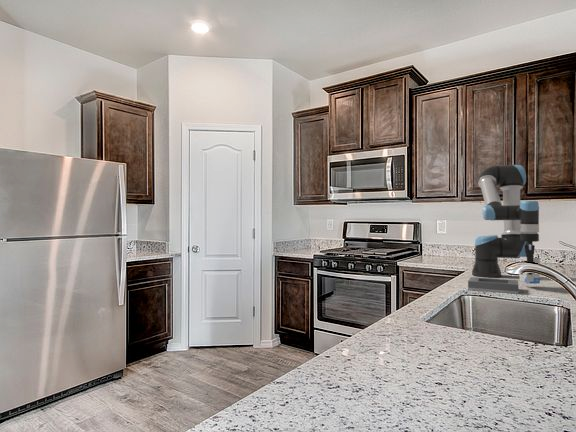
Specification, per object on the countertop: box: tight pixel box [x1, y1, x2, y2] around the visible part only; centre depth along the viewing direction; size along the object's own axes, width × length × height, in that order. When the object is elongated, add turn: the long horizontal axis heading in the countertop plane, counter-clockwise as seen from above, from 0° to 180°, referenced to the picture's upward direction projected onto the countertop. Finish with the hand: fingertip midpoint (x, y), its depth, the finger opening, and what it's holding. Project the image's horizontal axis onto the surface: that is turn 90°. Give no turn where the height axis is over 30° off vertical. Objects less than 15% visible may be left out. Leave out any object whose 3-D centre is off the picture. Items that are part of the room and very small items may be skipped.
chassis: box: [467, 276, 519, 295], centre depth 176 cm, size 14×20×4 cm
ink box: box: [519, 257, 541, 285], centre depth 180 cm, size 9×5×12 cm, turn 179°
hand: (529, 279), depth 180 cm, fingers closed on ink box, 10 cm apart
